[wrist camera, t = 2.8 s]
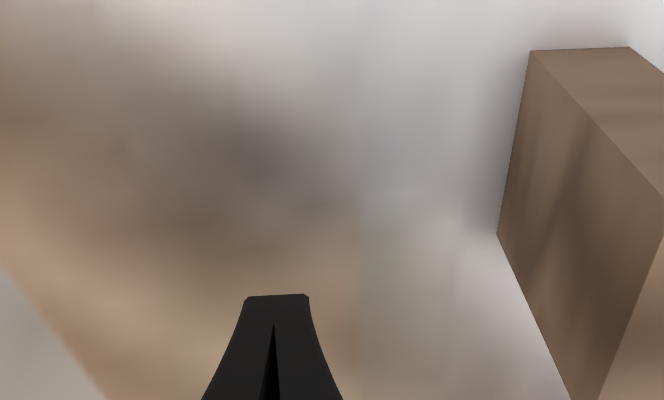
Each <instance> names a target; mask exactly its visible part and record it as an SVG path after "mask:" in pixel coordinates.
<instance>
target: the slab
mask: <svg viewBox="0 0 664 400" xmlns="http://www.w3.org/2000/svg"><path fill="white" fill-rule="evenodd" d="M496 235H497V237H498V239H499V241H500V244H501V246H502V248H503V250H504V252H505V255H506V257H507V259H508V261H509V263H510V266H511V268H512V270H513V272H514V274H515V277H516V279H517V281H518V283H519V285H520V288H521V290H522V292H523V294H524V296H525V299H526V301H527V303H528V305H529V307H530V310H531V312H532V314H533V316H534V318H535V321H536V323H537V325H538V327H539V329H540V332H541V334H542V336H543V338H544V340H545V343H546V345H547V347H548V349H549V351H550V354H551V356H552V358H553V360H554V362H555V365H556V367H557V369H558V371H559V373H560V375H561V378H562V380H563V382H564V384H565V386H566V389H567V391H568V393H569V395H570V397H571V400H664V73H663V72H661V71H660V70H659V69H658V68H656V67H655V66H654V65H652V64H651V63H650V62H648V61H647V60H646V59H644V58H643V57H642V56H641V55H639V54H638V53H637V52H635V51H634V50H633V49H631V48H630V47H615V48H589V49H563V50H538V51H530V55H529V61H528V66H527V72H526V77H525V82H524V88H523V93H522V99H521V104H520V110H519V115H518V120H517V126H516V131H515V137H514V142H513V147H512V153H511V158H510V164H509V169H508V174H507V180H506V185H505V191H504V196H503V202H502V207H501V212H500V218H499V223H498V229H497V234H496Z"/></svg>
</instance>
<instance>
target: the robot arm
mask: <svg viewBox="0 0 664 400" xmlns="http://www.w3.org/2000/svg"><path fill="white" fill-rule="evenodd" d="M201 400H343V399H342V396H341V394H340V392H339V390H338V388H337V386H336V384H335V381H334V379H333V377H332V375H331V372H330V370H329V367H328V365H327V362H326V360H325V357H324V355H323V352H322V350H321V347H320V344H319V341H318V338H317V335H316V331H315V328H314V324H313V321H312V316H311V312H310V306H309V297H308V296H306V295H305V294H287V295H268V296H250V297H248V298H247V299H246V300H244V304H243V307H242V311H241V314H240V317H239V319H238V322H237V325H236V328H235V330H234V333H233V335H232V337H231V340H230V342H229V345H228V347H227V349H226V351H225V353H224V355H223V358H222V360H221V362H220V364H219V366H218V368H217V370H216V372H215V374H214V376H213V378H212V380H211V382H210V384H209V386H208V388H207V390H206V391H205V393H204V395H203V397H202V399H201Z"/></svg>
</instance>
